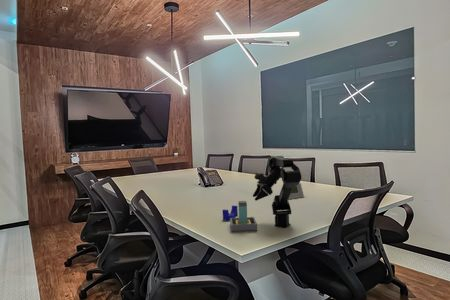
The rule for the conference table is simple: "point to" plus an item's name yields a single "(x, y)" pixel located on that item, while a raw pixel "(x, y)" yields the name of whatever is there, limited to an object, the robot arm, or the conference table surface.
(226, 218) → the cable clip
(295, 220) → the conference table surface
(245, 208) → the plug
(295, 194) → the digital clock
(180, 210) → the conference table surface
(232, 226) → the socket box
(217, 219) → the conference table surface
